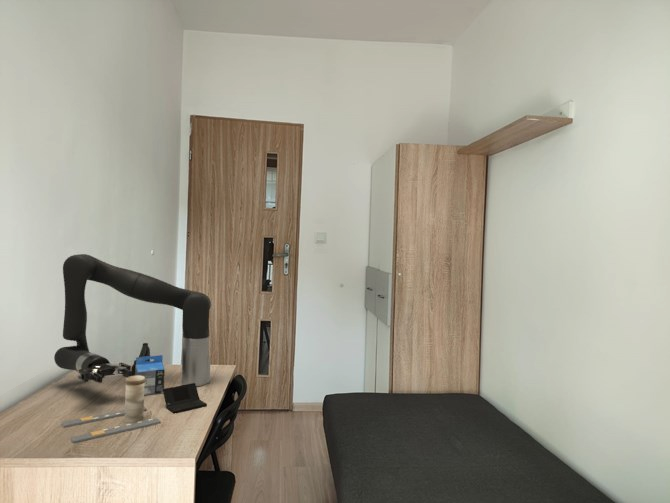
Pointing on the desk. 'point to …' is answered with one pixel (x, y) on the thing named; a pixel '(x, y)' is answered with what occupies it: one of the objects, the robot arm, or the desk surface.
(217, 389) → the desk surface
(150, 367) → the label tape cartridge
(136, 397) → the cream stub
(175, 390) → the handheld gaming console
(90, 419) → the dashed lane plates
